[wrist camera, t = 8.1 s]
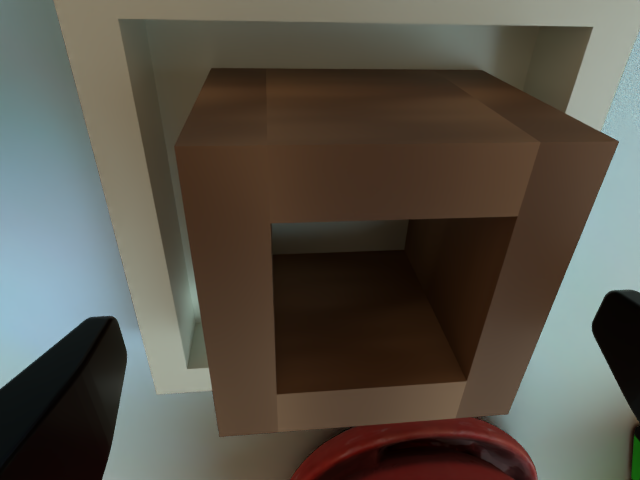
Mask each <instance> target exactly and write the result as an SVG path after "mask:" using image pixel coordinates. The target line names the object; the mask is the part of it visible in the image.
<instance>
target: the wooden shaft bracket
mask: <svg viewBox="0 0 640 480" xmlns="http://www.w3.org/2000/svg"><path fill="white" fill-rule="evenodd" d="M618 143H619V141H617V140H615V139H613V138H611V137H610V136H608V135H606V134H604V133H602V132H600V131H598V130H596V129H594V128H592V127H590V126H588V125H587V124H585V123H583V122H581V121H579V120H577V119H575V118H573V117H571V116H569V115H567V114H565V113H563V112H562V111H560V110H558V109H556V108H554V107H552V106H550V105H548V104H546V103H544V102H542V101H540V100H539V99H537V98H535V97H533V96H531V95H529V94H527V93H525V92H523V91H521V90H519V89H517V88H516V87H514V86H512V85H510V84H508V83H506V82H504V81H502V80H500V79H498V78H496V77H494V76H493V75H491V74H489V73H487V72H485V71H483V70H425V69H285V68H211V70H210V72H209V74H208V76H207V78H206V80H205V82H204V84H203V86H202V89H201V91H200V93H199V95H198V97H197V99H196V101H195V103H194V105H193V107H192V110H191V112H190V114H189V116H188V118H187V120H186V122H185V124H184V126H183V129H182V131H181V133H180V135H179V137H178V139H177V141H176V143H175V145H174V149H175V156H176V162H177V168H178V175H179V181H180V188H181V194H182V200H183V207H184V213H185V220H186V226H187V232H188V239H189V245H190V252H191V258H192V264H193V271H194V277H195V283H196V290H197V296H198V303H199V309H200V315H201V322H202V328H203V335H204V341H205V347H206V354H207V360H208V367H209V373H210V379H211V386H212V392H213V399H214V405H215V411H216V418H217V424H218V431H219V437H224V436H237V435H250V434H262V433H275V432H288V431H301V430H314V429H326V428H339V427H352V426H365V425H378V424H390V423H403V422H416V421H429V420H441V419H454V418H467V417H480V416H493V415H505V414H508V413H509V410H510V408H511V405H512V403H513V401H514V398H515V396H516V393H517V391H518V388H519V386H520V383H521V381H522V378H523V376H524V374H525V371H526V369H527V366H528V364H529V361H530V359H531V356H532V354H533V351H534V349H535V347H536V344H537V342H538V339H539V337H540V334H541V332H542V329H543V327H544V324H545V322H546V320H547V317H548V315H549V312H550V310H551V307H552V305H553V302H554V300H555V297H556V295H557V293H558V290H559V288H560V285H561V283H562V280H563V278H564V275H565V273H566V270H567V268H568V266H569V263H570V261H571V258H572V256H573V253H574V251H575V248H576V246H577V243H578V241H579V239H580V236H581V234H582V231H583V229H584V226H585V224H586V221H587V219H588V216H589V214H590V212H591V209H592V207H593V204H594V202H595V199H596V197H597V194H598V192H599V189H600V187H601V185H602V182H603V180H604V177H605V175H606V172H607V170H608V167H609V165H610V162H611V160H612V158H613V155H614V153H615V150H616V148H617V145H618ZM408 219H409V222H408V229H407V235H406V241H405V248H404V250H384V251H357V252H330V253H302V254H275V255H273V248H272V223H305V222H340V221H374V220H408Z"/></svg>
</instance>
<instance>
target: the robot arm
mask: <svg viewBox="0 0 640 480" xmlns="http://www.w3.org/2000/svg"><path fill="white" fill-rule="evenodd" d="M592 332H593V335H594V337H595V339H596V341H597V343H598V345H599V347H600V349H601V351H602V353H603V355H604V357H605V359H606V361H607V363H608V365H609V367H610V369H611V371H612V373H613V375H614V377H615V379H616V381H617V383H618V385H619V387H620V389H621V391H622V393H623V395H624V397H625V399H626V401H627V402H628V404H629V406H630V408H631V410H632V411H633V413H634V415H635V416H636V418H637V420H638V421H639V423H640V293H639V292H637V291H634V290H614V291H610V292H608V293H607V294H606V295H605V297H604V299H603V301H602V303H601V305H600V307H599V309H598V311H597V313H596V315H595V318H594V320H593V322H592ZM126 364H127V351H126V347H125V344H124V340H123V337H122V334H121V330H120V327H119V324H118V321H117V319H116V318H115V317H113V316H100V317H90V318H88V319H86V320H85V321H83V322H82V323H81V324H80V325H78V326H77V327H76V328H75V329H74V330H72V331H71V332H70V333H69V334H67V335H66V336H65V337H64V338H62V339H61V340H60V341H59V342H58V343H56V344H55V345H54V346H53V347H51V348H50V349H49V350H48V351H46V352H45V353H44V354H43V355H42V356H40V357H39V358H38V359H37V360H35V361H34V362H33V363H32V364H30V365H29V366H28V367H27V368H26V369H24V370H23V371H22V372H21V373H19V374H18V375H17V376H16V377H14V378H13V379H12V380H11V381H10V382H8V383H7V384H6V385H5V386H3V387H2V388H1V389H0V480H102V478H103V474H104V471H105V468H106V464H107V461H108V457H109V453H110V450H111V445H112V440H113V435H114V430H115V425H116V419H117V414H118V408H119V403H120V397H121V392H122V386H123V381H124V375H125V369H126Z"/></svg>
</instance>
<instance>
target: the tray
mask: <svg viewBox="0 0 640 480" xmlns="http://www.w3.org/2000/svg"><path fill="white" fill-rule="evenodd" d="M54 4H55V8H56V12H57V16H58V19H59V23H60V27H61V31H62V35H63V38H64V42H65V46H66V50H67V54H68V58H69V61H70V65H71V69H72V73H73V77H74V80H75V84H76V88H77V92H78V96H79V99H80V103H81V107H82V111H83V115H84V119H85V122H86V126H87V130H88V134H89V138H90V141H91V145H92V149H93V153H94V157H95V160H96V164H97V168H98V172H99V176H100V180H101V183H102V187H103V191H104V195H105V199H106V202H107V206H108V210H109V214H110V218H111V222H112V225H113V229H114V233H115V237H116V241H117V244H118V248H119V252H120V256H121V260H122V263H123V267H124V271H125V275H126V279H127V283H128V286H129V290H130V294H131V298H132V302H133V305H134V309H135V313H136V317H137V321H138V324H139V328H140V332H141V336H142V340H143V344H144V347H145V351H146V355H147V359H148V363H149V366H150V370H151V374H152V378H153V382H154V385H155V389H156V393H157V394H172V393H187V392H201V391H212V386H211V379H210V373H209V367H208V360H207V354H206V347H205V341H204V335H203V328H202V322H201V315H200V309H199V303H198V296H197V290H196V283H195V277H194V271H193V264H192V258H191V252H190V245H189V239H188V232H187V226H186V220H185V213H184V207H183V200H182V194H181V188H180V181H179V175H178V168H177V162H176V156H175V149H174V145H175V143H176V141H177V139H178V137H179V135H180V133H181V131H182V129H183V126H184V124H185V122H186V120H187V118H188V116H189V114H190V112H191V110H192V107H193V105H194V103H195V101H196V99H197V97H198V95H199V93H200V91H201V89H202V86H203V84H204V82H205V80H206V78H207V76H208V74H209V72H210V70H211V68H285V69H425V70H483V71H485V72H487V73H489V74H491V75H493V76H494V77H496V78H498V79H500V80H502V81H504V82H506V83H508V84H510V85H512V86H514V87H516V88H517V89H519V90H521V91H523V92H525V93H527V94H529V95H531V96H533V97H535V98H537V99H539V100H540V101H542V102H544V103H546V104H548V105H550V106H552V107H554V108H556V109H558V110H560V111H562V112H563V113H565V114H567V115H569V116H571V117H573V118H575V119H577V120H579V121H581V122H583V123H585V124H587V125H588V126H590V127H592V128H594V129H596V130H598V131H600V132H601V130H602V127H603V124H604V122H605V119H606V117H607V114H608V111H609V109H610V106H611V103H612V101H613V98H614V95H615V93H616V90H617V87H618V85H619V82H620V80H621V77H622V74H623V72H624V69H625V66H626V64H627V61H628V58H629V56H630V53H631V50H632V48H633V45H634V43H635V40H636V37H637V35H638V32H639V29H640V0H54ZM408 222H409V219H408V220H374V221H340V222H305V223H272V248H273V255H275V254H302V253H330V252H357V251H384V250H404V248H405V241H406V235H407V229H408Z"/></svg>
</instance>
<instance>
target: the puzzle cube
mask: <svg viewBox="0 0 640 480" xmlns="http://www.w3.org/2000/svg"><path fill="white" fill-rule="evenodd" d="M631 478H632V480H640V426H637V427H636V428H635V432H634V442H633V456H632V471H631Z"/></svg>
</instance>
